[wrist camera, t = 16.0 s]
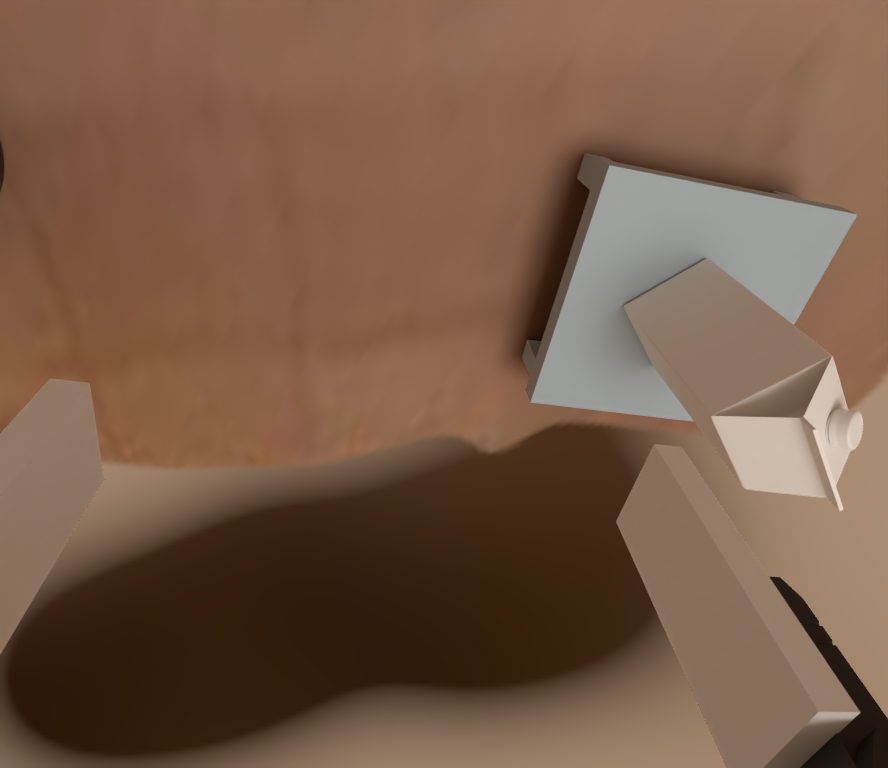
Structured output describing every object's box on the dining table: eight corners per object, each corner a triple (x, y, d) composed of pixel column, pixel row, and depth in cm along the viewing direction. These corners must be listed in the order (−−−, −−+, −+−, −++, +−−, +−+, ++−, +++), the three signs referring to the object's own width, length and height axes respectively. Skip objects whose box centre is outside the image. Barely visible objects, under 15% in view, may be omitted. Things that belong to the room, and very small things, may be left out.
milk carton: (653, 367, 49) (780, 537, 33) (621, 304, 46) (746, 462, 30) (733, 324, 48) (906, 482, 32) (706, 255, 44) (887, 395, 28)
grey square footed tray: (515, 361, 56) (530, 402, 50) (580, 145, 46) (609, 165, 40) (701, 385, 60) (735, 426, 54) (801, 189, 49) (857, 214, 43)
